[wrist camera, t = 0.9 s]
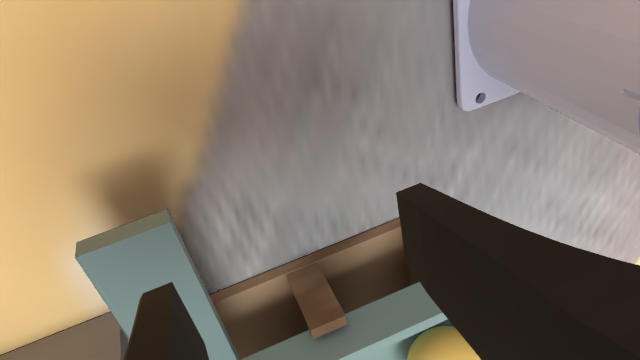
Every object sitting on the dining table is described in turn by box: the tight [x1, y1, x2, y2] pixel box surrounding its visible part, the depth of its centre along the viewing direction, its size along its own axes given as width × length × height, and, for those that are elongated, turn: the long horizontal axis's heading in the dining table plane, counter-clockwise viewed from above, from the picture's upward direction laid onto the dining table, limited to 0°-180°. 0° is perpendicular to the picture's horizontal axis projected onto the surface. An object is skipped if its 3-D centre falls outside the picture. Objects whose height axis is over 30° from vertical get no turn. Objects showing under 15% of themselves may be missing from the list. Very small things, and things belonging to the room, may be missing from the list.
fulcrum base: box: [209, 218, 420, 360], centre depth 25 cm, size 15×8×4 cm, turn 102°
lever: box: [75, 209, 454, 360], centre depth 20 cm, size 14×14×2 cm
